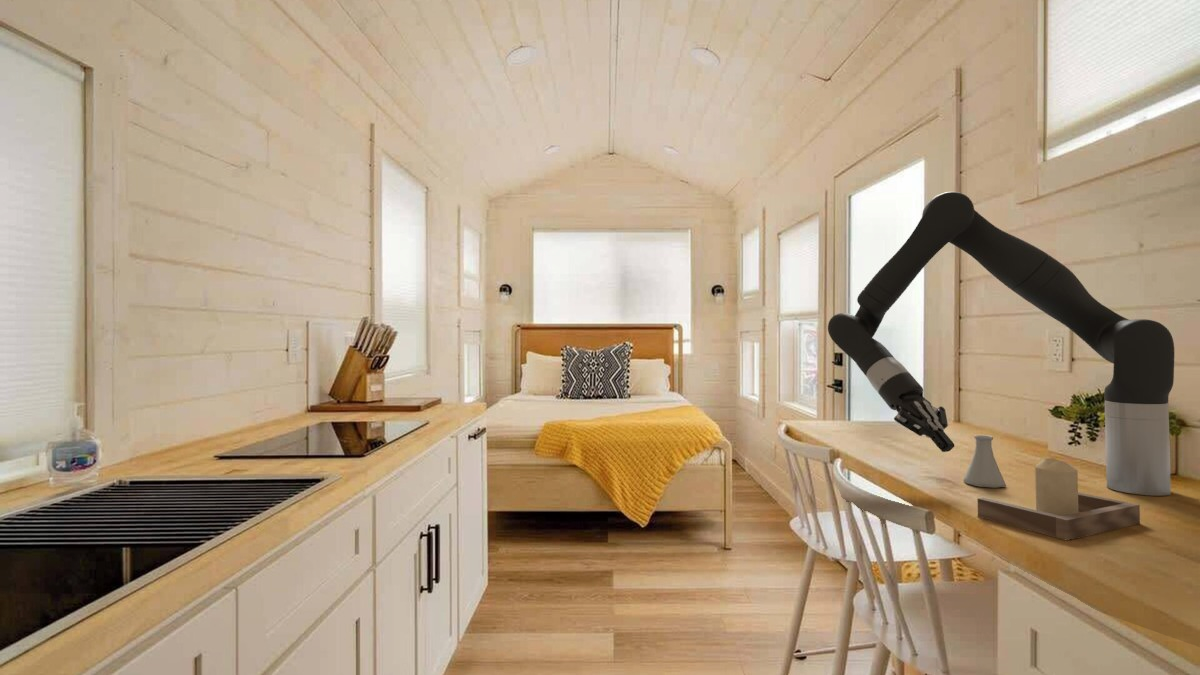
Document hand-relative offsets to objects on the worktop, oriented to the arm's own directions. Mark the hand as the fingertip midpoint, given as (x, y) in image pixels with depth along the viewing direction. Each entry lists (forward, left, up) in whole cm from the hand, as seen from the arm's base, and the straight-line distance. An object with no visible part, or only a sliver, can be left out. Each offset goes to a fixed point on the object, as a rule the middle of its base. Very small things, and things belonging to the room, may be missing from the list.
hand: (949, 449), depth 114 cm
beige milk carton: (0, +19, -9) cm, 21 cm away
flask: (-13, -2, -9) cm, 16 cm away
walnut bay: (0, +18, -9) cm, 20 cm away
